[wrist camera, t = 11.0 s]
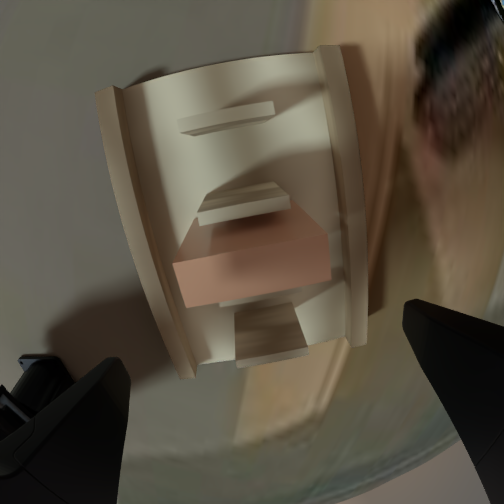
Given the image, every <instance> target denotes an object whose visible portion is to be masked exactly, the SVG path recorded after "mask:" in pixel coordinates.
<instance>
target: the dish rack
mask: <svg viewBox="0 0 504 504" xmlns="http://www.w3.org/2000/svg"><path fill="white" fill-rule="evenodd" d="M95 99H96V105H97V112H98V118H99V124H100V129H101V135H102V140H103V145H104V150H105V155H106V160H107V164H108V169H109V173H110V178H111V182H112V186H113V190H114V194H115V198H116V202H117V206H118V209H119V213H120V217H121V220H122V224H123V227H124V231H125V234H126V238H127V241H128V244H129V247H130V251H131V254H132V257H133V260H134V263H135V266H136V269H137V272H138V275H139V278H140V281H141V284H142V287H143V289H144V292H145V295H146V298H147V300H148V303H149V306H150V308H151V311H152V314H153V316H154V319H155V321H156V324H157V326H158V329H159V331H160V334H161V336H162V339H163V341H164V344H165V346H166V348H167V351H168V353H169V355H170V358H171V360H172V362H173V364H174V367H175V369H176V371H177V373H178V375H179V378H180V379H189V378H196V371H197V365H199V364H206V363H214V362H221V361H227V360H234V359H235V361H236V365H237V368H243V367H249V366H255V365H261V364H266V363H272V362H277V361H282V360H287V359H292V358H297V357H301V356H306V355H309V352H308V345H312V344H316V343H321V342H325V341H329V340H333V339H337V338H341V337H346V339H347V340H348V342H349V344H350V346H351V348H354V347H357V346H361V345H364V344H366V343H367V320H368V252H367V229H366V213H365V199H364V188H363V178H362V169H361V160H360V152H359V145H358V137H357V131H356V124H355V118H354V112H353V106H352V101H351V95H350V90H349V85H348V80H347V76H346V71H345V66H344V62H343V58H342V53H341V49H340V45H320V46H319V47H318V48H317V49H316V50H315V51H314V52H313V53H297V54H284V55H274V56H265V57H257V58H250V59H243V60H236V61H230V62H225V63H219V64H214V65H209V66H204V67H200V68H195V69H191V70H187V71H182V72H178V73H175V74H171V75H167V76H163V77H160V78H156V79H153V80H150V81H146V82H143V83H140V84H137V85H134V86H131V87H128V88H125V89H120V88H118V87H115V86H110V87H108V88H105V89H102V90H100V91H97V92H95ZM290 200H293V201H294V202H295V203H296V204H297V205H299V206H300V207H301V208H302V209H303V210H304V211H305V212H306V213H307V214H308V215H309V216H310V217H311V218H312V219H313V220H314V221H315V222H316V223H317V224H318V225H319V226H320V227H322V228H323V229H324V230H325V231H326V232H327V233H328V242H329V253H330V265H331V279H332V280H330V281H325V282H321V283H316V284H311V285H307V286H302V287H297V288H292V289H287V290H282V291H277V292H272V293H267V294H262V295H257V296H251V297H246V298H241V299H235V300H230V301H224V302H219V303H213V304H207V305H201V306H195V307H189V308H186V306H185V303H184V300H183V297H182V293H181V290H180V287H179V284H178V281H177V277H176V274H175V271H174V267H173V264H172V263H173V261H174V259H175V257H176V255H177V253H178V250H179V248H180V246H181V244H182V242H183V240H184V238H185V236H186V234H187V232H188V230H189V228H190V226H191V224H192V222H193V220H194V219H196V218H198V221H199V226H203V225H208V224H213V223H218V222H223V221H228V220H233V219H238V218H244V217H249V216H254V215H259V214H265V213H270V212H276V211H281V210H287V209H291V205H290Z"/></svg>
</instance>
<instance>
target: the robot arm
mask: <svg viewBox="0 0 504 504" xmlns="http://www.w3.org/2000/svg"><path fill="white" fill-rule="evenodd" d="M402 327H403V330H404V333H405V335H406V337H407V339H408V341H409V343H410V345H411V347H412V349H413V351H414V354H415V356H416V358H417V360H418V362H419V364H420V366H421V368H422V370H423V372H424V373H425V375H426V377H427V378H428V380H429V382H430V383H431V385H432V387H433V388H434V390H435V392H436V394H437V395H438V397H439V399H440V401H441V403H442V404H443V406H444V408H445V410H446V412H447V413H448V415H449V417H450V419H451V421H452V423H453V424H454V426H455V428H456V430H457V432H458V434H459V436H460V438H461V440H462V442H463V444H464V446H465V448H466V450H467V452H468V454H469V456H470V458H471V460H472V462H473V464H474V466H475V469H476V471H477V473H478V475H479V478H480V480H481V482H482V484H483V487H484V489H485V491H486V494H487V496H488V498H489V501H490V503H491V504H504V326H500V325H497V324H494V323H491V322H488V321H485V320H482V319H479V318H476V317H473V316H470V315H466V314H463V313H460V312H457V311H454V310H451V309H448V308H445V307H442V306H438V305H435V304H432V303H429V302H426V301H423V300H420V299H413V300H409V301H407V302H405V304H404V310H403V320H402ZM18 362H19V364H20V366H21V367H22V369H23V370H24V373H23V375H22V376H21V378H20V379H19V381H18V382H17V384H16V385H15V387H14V388H13V390H12V391H11V393H9V392H8V391H7V390H6V388H5V387H4V386H3V385H1V386H0V504H117V495H118V486H119V477H120V470H121V462H122V455H123V449H124V442H125V436H126V430H127V423H128V413H129V399H130V387H131V379H130V376H129V374H128V372H127V370H126V368H125V366H124V365H123V363H122V361H121V359H120V358H118V357H109V358H106V359H105V360H104V361H102V362H101V363H100V364H99V365H97V366H96V367H95V368H94V369H92V370H91V371H90V372H89V373H87V374H86V375H85V376H84V377H82V378H81V379H80V380H79V381H77V382H76V383H74V381H73V380H72V378H71V377H70V375H69V374H68V372H67V370H66V369H65V367H64V365H63V364H62V362H61V361H60V359H59V358H57V357H20V358H19V359H18Z"/></svg>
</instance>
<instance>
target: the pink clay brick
mask: <svg viewBox="0 0 504 504" xmlns="http://www.w3.org/2000/svg"><path fill="white" fill-rule="evenodd" d="M290 205H291V209H287V210H281V211H276V212H270V213H265V214H259V215H254V216H249V217H244V218H238V219H233V220H228V221H223V222H218V223H213V224H208V225H203V226H199V221H198V218H196V219H194V220H193V222H192V224H191V226H190V228H189V230H188V232H187V234H186V236H185V238H184V240H183V242H182V244H181V246H180V248H179V250H178V253H177V255H176V257H175V259H174V261H173V263H172V264H173V267H174V271H175V274H176V277H177V281H178V284H179V287H180V290H181V293H182V297H183V300H184V303H185V306H186V308H189V307H195V306H201V305H207V304H213V303H219V302H224V301H230V300H235V299H241V298H246V297H251V296H257V295H262V294H267V293H272V292H277V291H282V290H287V289H292V288H297V287H302V286H307V285H311V284H316V283H321V282H325V281H330V280H332V279H331V265H330V253H329V242H328V233H327V232H326V231H325V230H324V229H323V228H322V227H320V226H319V225H318V224H317V223H316V222H315V221H314V220H313V219H312V218H311V217H310V216H309V215H308V214H307V213H306V212H305V211H304V210H303V209H302V208H301V207H300V206H299V205H297V204H296V203H295V202H294V201H293V200H290Z"/></svg>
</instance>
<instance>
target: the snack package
mask: <svg viewBox="0 0 504 504" xmlns="http://www.w3.org/2000/svg"><path fill="white" fill-rule="evenodd" d="M491 1H492V3H493V4H494V6H495V8H496V10H497V6H496V5H495V1H494V0H491ZM500 2H501V4H502V6H503V8H504V0H500ZM497 12H498V14H499V11H498V10H497ZM499 16H500V14H499ZM500 17H501V16H500ZM501 19H502V17H501Z"/></svg>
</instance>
